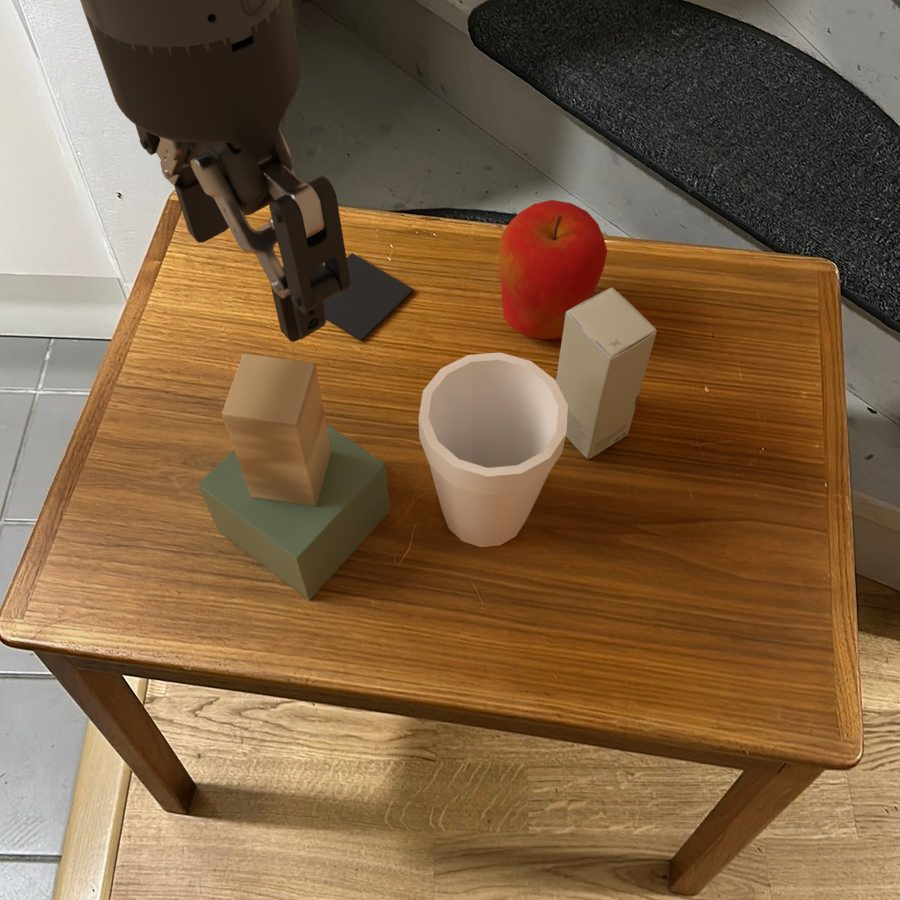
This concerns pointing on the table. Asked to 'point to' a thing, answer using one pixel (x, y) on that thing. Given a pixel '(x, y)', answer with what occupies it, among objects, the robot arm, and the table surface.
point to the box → (602, 369)
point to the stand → (302, 516)
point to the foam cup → (491, 442)
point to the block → (278, 428)
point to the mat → (365, 299)
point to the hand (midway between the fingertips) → (256, 279)
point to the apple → (548, 266)
